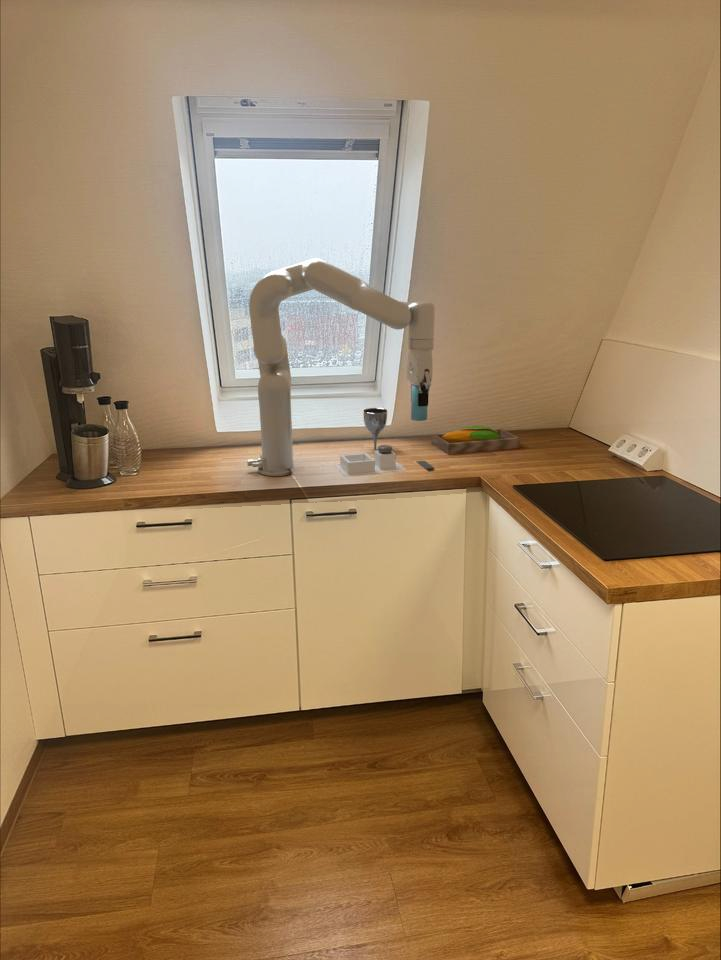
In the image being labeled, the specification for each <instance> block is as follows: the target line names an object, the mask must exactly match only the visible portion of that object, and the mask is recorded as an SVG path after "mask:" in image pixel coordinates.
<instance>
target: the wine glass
mask: <svg viewBox="0 0 721 960" xmlns="http://www.w3.org/2000/svg"><path fill="white" fill-rule="evenodd" d="M387 420H388V409H386V408H382V407H368V408H365V409H363V422H364V426H365V428H366V429H367V431H368V432H369V433H370V434H371V436H372V439H373V451H377V441H378V437H379V435H380V434H381V433H382V432H383V430H384V429H385V427H386V426H387V422H388V421H387Z"/></svg>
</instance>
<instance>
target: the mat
mask: <svg viewBox="0 0 721 960" xmlns="http://www.w3.org/2000/svg"><path fill="white" fill-rule="evenodd" d="M414 462H415V463H417V464H418V465H419V466H421V467H422V468H423V469H425V470H426V471H427V470H430V471H435V467H434V466H433V465H431V464H430V463H429V462H427V461H426V460H416V461H414Z"/></svg>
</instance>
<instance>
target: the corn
mask: <svg viewBox="0 0 721 960" xmlns="http://www.w3.org/2000/svg"><path fill="white" fill-rule="evenodd" d="M458 428H459V429H461V430H454V431H450V432H445V433H446V434H445V435H444V436H442V437H443V439H444V440H446V441H448V442H452V443H460V442H471V441H483V440H495V439H499V438H500V436H499V434H498V433H497V431H495V430H493V429H494V428H492V427H490V426H485V425H469V426H460V427H458ZM490 429H491V430H490ZM492 430H493V431H492Z"/></svg>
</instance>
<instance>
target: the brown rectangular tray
mask: <svg viewBox="0 0 721 960" xmlns="http://www.w3.org/2000/svg"><path fill="white" fill-rule="evenodd" d="M492 429H493V430H495V431H497V433H498V434H499V436H500V438H499V439H495V440H483V441H471V442H460V443H452V442H448V441H446V440H444V439H443V437H442V436H444V435H445V434H446V433H447V432H441V433H432V434H431V445H433V446H434V445H435V446H434V447H436V448H437V447H438V448H437V449H439V450H441V452H444V454H446V455H455V454H457V453H458V454H466V453H468V454H469V453H477V452H478V453H480V452H479V451H481V452H489V451H491V450H492V451H500V449H501V451H502V449H503V450H512V449H513V448H514V449H520V448H521V439H522V438H521V437H519V436H517V435H514V434H513V433H511V432H509V431H506V430H504V428H503V429H502V428H492ZM490 430H491V429H490ZM493 430H492V431H493ZM458 454H457V455H458Z"/></svg>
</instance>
